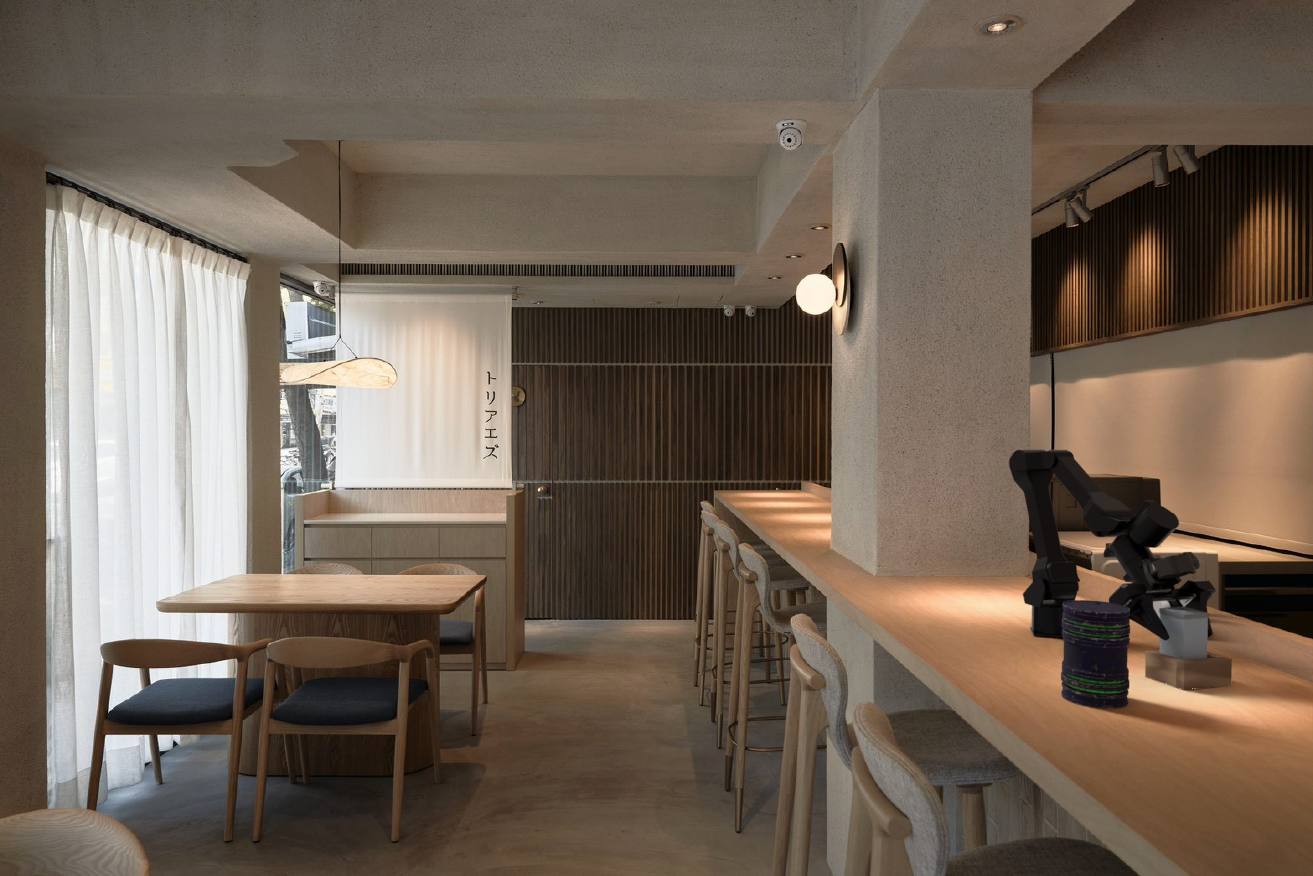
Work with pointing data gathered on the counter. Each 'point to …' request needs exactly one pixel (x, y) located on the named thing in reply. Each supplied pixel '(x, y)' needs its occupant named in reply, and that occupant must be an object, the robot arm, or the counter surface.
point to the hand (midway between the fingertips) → (1189, 637)
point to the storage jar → (1095, 654)
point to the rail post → (1184, 633)
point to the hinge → (1163, 605)
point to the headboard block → (1189, 670)
